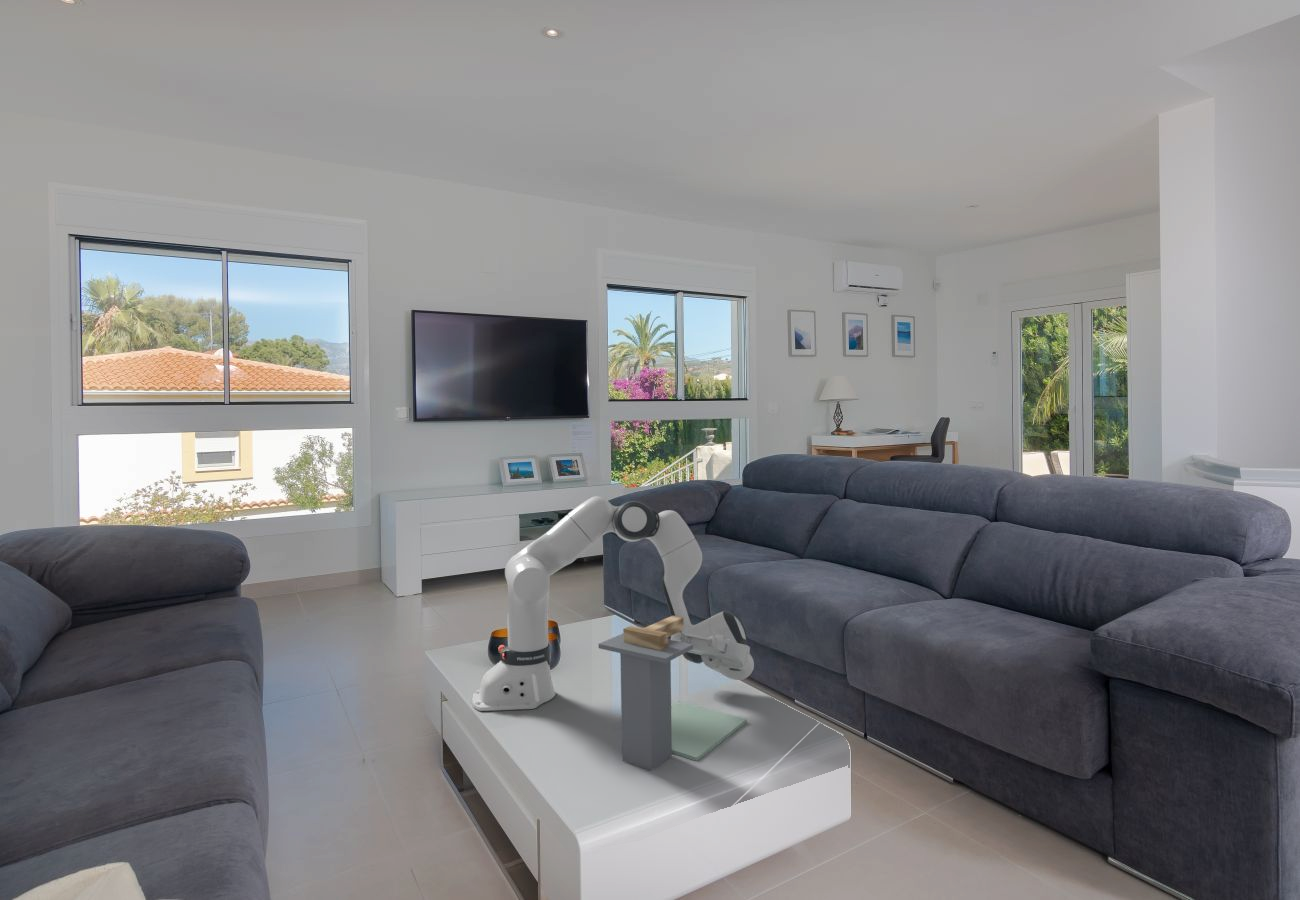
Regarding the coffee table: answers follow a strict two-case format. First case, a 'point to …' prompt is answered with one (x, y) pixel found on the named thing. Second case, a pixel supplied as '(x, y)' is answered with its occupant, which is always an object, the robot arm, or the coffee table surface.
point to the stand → (646, 700)
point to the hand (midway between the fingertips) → (694, 638)
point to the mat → (699, 729)
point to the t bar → (654, 633)
